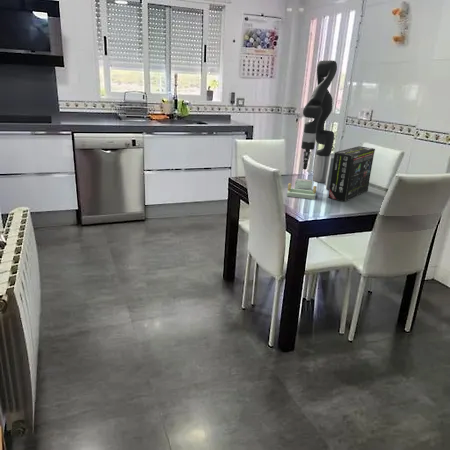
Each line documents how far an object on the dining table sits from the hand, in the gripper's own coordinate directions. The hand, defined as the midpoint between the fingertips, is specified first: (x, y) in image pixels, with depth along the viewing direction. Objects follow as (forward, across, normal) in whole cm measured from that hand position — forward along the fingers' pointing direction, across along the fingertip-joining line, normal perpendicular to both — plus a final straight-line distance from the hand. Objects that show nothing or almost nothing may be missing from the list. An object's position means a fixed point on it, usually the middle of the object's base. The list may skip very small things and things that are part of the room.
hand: (305, 167), depth 239 cm
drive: (+14, 0, 0) cm, 14 cm away
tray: (+14, +14, 0) cm, 19 cm away
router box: (+14, -1, +28) cm, 31 cm away
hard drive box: (+13, -14, +18) cm, 26 cm away
